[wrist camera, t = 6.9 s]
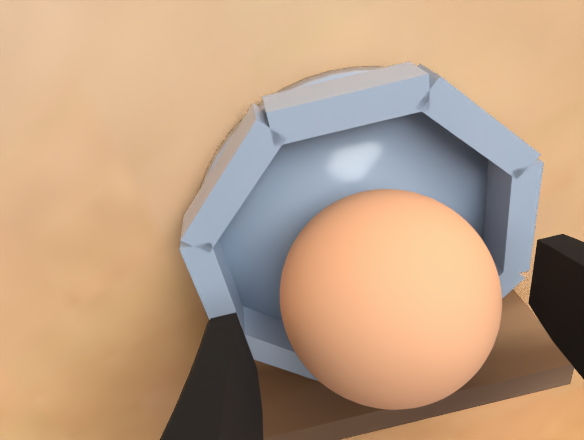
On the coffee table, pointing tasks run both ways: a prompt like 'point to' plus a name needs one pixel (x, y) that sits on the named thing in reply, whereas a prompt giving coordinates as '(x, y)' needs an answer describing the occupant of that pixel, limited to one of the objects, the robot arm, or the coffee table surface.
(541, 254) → the robot arm
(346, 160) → the dish
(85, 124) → the coffee table surface
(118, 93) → the coffee table surface
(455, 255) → the ball
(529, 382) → the wooden block
